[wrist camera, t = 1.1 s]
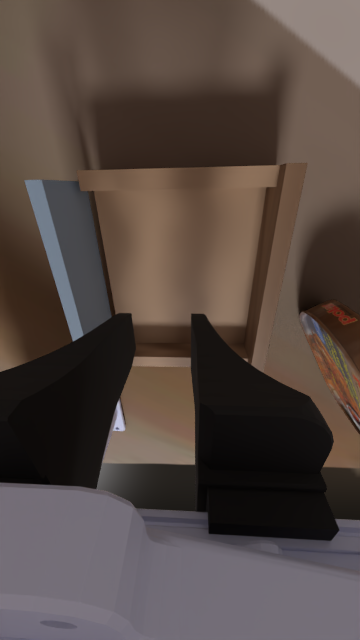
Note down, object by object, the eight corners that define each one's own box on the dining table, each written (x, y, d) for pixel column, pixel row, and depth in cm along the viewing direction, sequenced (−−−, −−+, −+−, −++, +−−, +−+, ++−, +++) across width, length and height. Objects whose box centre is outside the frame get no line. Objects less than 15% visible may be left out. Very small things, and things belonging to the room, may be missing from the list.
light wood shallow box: (127, 338, 23) (112, 373, 19) (101, 174, 16) (67, 169, 12) (249, 340, 23) (262, 377, 18) (275, 169, 16) (307, 162, 11)
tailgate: (109, 344, 22) (87, 387, 17) (75, 182, 15) (24, 180, 10) (118, 344, 22) (97, 387, 17) (87, 181, 15) (41, 179, 10)
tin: (288, 296, 20) (341, 358, 13) (325, 278, 19) (405, 334, 12) (333, 401, 26) (387, 484, 19) (363, 391, 25) (432, 475, 18)
